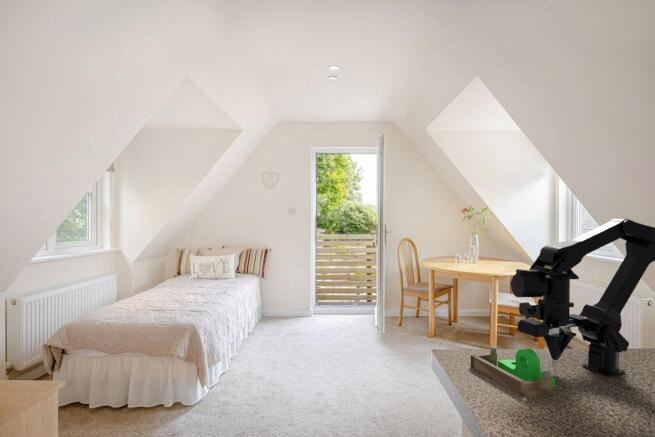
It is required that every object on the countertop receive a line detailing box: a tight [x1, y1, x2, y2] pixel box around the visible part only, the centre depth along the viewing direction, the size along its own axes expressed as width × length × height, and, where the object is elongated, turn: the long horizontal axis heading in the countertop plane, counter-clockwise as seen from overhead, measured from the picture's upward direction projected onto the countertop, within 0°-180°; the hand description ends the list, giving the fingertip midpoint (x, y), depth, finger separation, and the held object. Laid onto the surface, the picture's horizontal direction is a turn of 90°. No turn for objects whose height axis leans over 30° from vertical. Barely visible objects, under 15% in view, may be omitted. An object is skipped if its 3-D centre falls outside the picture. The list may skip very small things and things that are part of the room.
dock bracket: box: [470, 346, 552, 399], centre depth 91 cm, size 7×18×4 cm, turn 18°
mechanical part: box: [497, 348, 556, 388], centre depth 93 cm, size 12×6×8 cm, turn 12°
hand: (554, 359), depth 96 cm, fingers closed
